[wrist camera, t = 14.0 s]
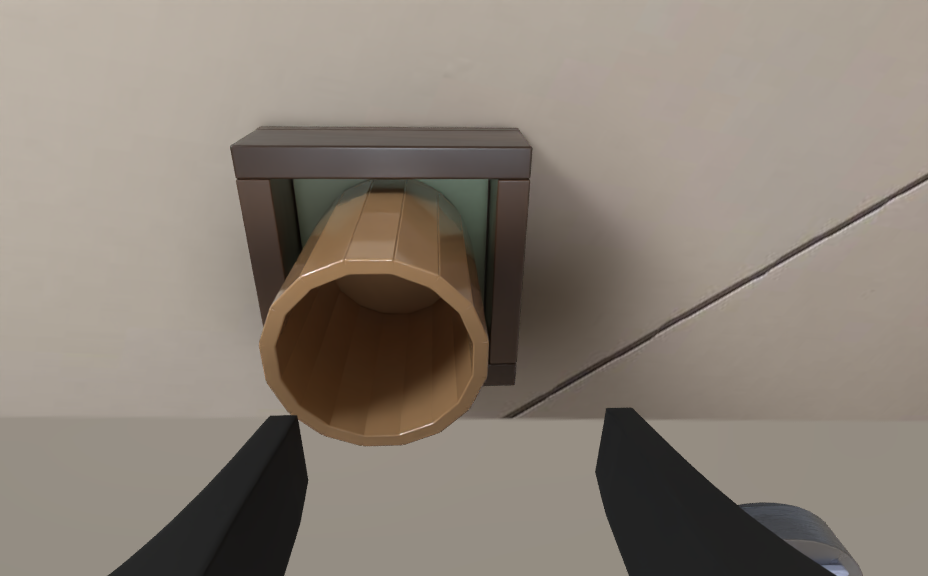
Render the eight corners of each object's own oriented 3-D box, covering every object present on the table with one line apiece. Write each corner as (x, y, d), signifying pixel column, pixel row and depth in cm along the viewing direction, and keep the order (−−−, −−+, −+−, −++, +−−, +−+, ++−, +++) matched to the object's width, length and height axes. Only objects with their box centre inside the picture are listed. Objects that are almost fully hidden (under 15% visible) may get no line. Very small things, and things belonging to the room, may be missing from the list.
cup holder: (505, 341, 22) (514, 385, 19) (294, 345, 22) (274, 390, 19) (518, 127, 18) (533, 146, 15) (259, 126, 18) (228, 145, 15)
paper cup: (469, 316, 21) (484, 443, 14) (325, 317, 20) (278, 449, 14) (472, 176, 18) (493, 258, 12) (308, 175, 18) (241, 259, 12)
